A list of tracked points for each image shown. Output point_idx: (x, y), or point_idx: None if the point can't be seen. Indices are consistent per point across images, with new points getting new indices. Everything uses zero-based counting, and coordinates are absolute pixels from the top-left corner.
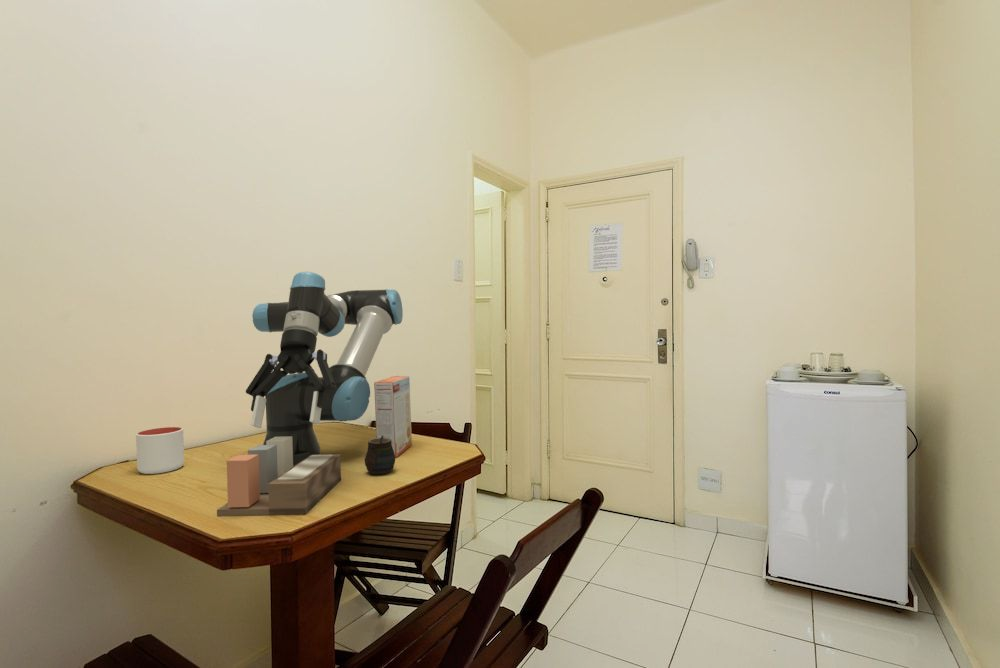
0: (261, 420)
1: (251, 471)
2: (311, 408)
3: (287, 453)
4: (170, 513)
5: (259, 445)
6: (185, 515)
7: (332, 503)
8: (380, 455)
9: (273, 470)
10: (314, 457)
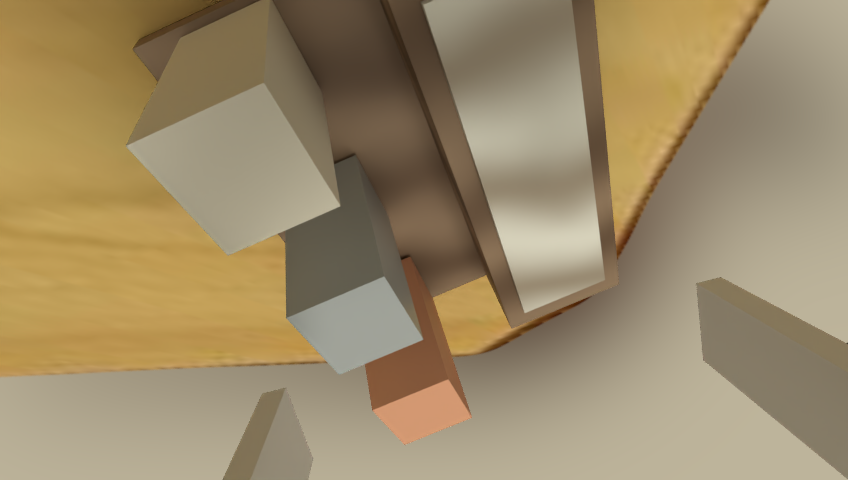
0: (277, 431)
1: (452, 366)
2: (768, 413)
3: (310, 117)
4: (209, 357)
5: (303, 319)
6: (265, 346)
7: (610, 138)
8: None
9: (381, 226)
10: (480, 53)
